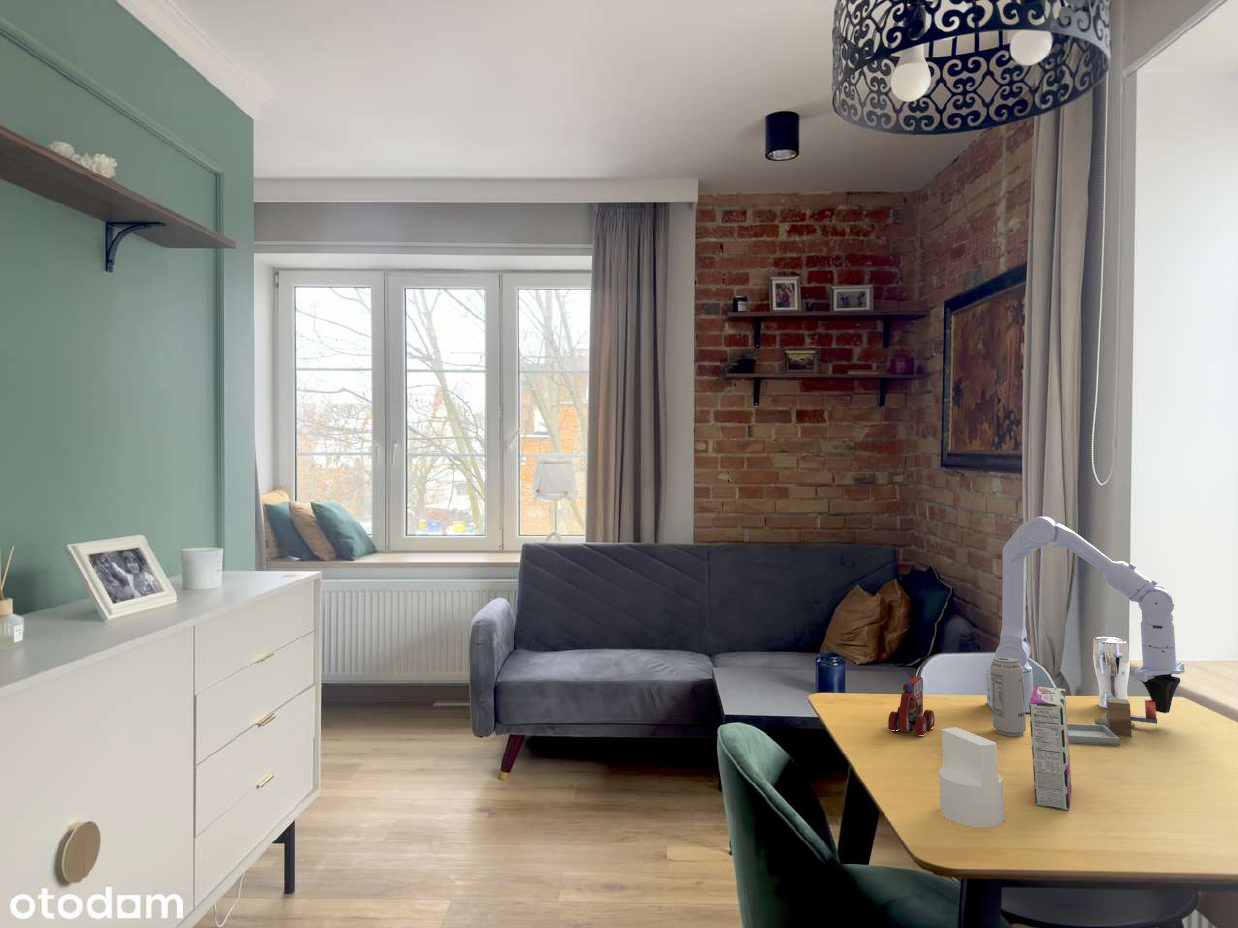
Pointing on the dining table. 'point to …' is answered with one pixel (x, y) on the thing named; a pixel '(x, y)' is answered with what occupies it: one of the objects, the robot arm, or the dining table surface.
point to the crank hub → (1105, 722)
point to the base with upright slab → (970, 780)
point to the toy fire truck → (912, 710)
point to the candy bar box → (1050, 747)
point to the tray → (1091, 734)
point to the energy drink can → (1008, 696)
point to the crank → (1150, 713)
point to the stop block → (1119, 716)
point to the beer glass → (1111, 668)
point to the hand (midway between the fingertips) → (1162, 711)
